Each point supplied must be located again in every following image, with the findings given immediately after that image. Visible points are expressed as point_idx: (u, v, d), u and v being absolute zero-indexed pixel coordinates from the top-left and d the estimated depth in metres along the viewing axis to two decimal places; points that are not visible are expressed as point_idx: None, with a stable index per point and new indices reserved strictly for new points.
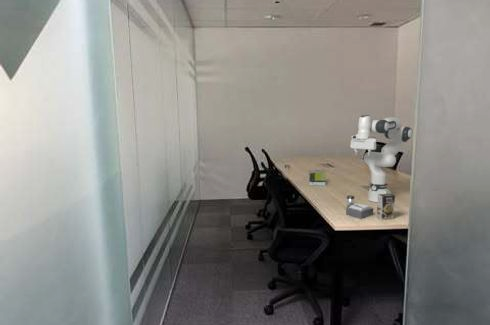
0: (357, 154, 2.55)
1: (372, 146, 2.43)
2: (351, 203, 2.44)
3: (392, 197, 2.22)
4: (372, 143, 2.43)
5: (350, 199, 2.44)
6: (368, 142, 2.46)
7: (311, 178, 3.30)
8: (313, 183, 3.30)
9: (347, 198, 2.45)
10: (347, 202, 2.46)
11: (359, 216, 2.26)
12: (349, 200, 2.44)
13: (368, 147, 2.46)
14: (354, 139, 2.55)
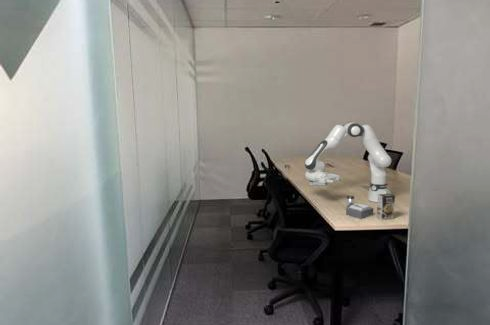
0: (340, 180, 2.56)
1: (322, 182, 2.54)
2: (351, 203, 2.44)
3: (392, 197, 2.22)
4: (320, 182, 2.56)
5: (350, 199, 2.44)
6: None
7: None
8: (313, 183, 3.30)
9: (347, 198, 2.45)
10: (347, 202, 2.46)
11: (359, 216, 2.26)
12: (349, 200, 2.44)
13: None
14: None
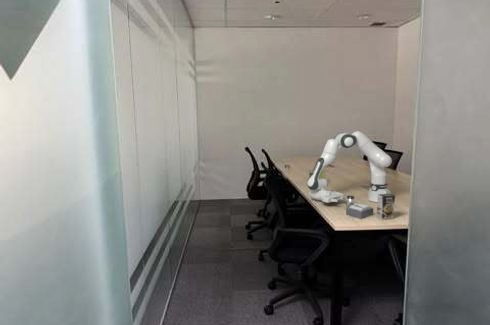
0: (344, 199, 2.55)
1: None
2: (351, 203, 2.44)
3: (392, 197, 2.22)
4: None
5: (350, 199, 2.43)
6: None
7: None
8: None
9: (347, 198, 2.45)
10: (347, 202, 2.45)
11: (359, 216, 2.26)
12: (349, 200, 2.44)
13: None
14: None
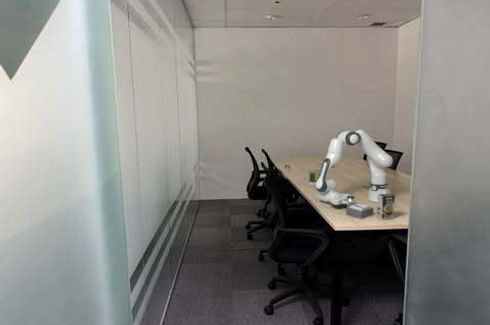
0: None
1: None
2: (351, 203, 2.44)
3: (392, 197, 2.22)
4: None
5: (350, 199, 2.43)
6: None
7: (311, 178, 3.30)
8: (313, 183, 3.30)
9: (347, 198, 2.45)
10: None
11: (359, 216, 2.26)
12: (349, 200, 2.44)
13: None
14: None
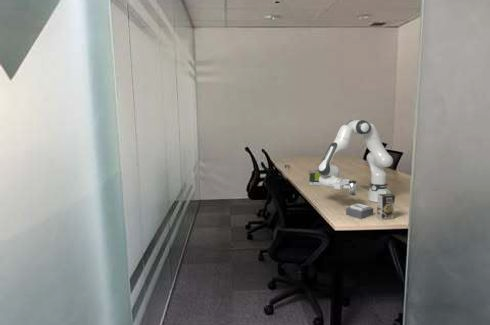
0: None
1: None
2: (353, 188, 2.40)
3: (392, 197, 2.22)
4: (335, 188, 2.44)
5: (352, 184, 2.40)
6: None
7: (311, 178, 3.30)
8: (313, 183, 3.30)
9: (349, 183, 2.41)
10: None
11: (359, 216, 2.26)
12: (351, 185, 2.40)
13: None
14: None
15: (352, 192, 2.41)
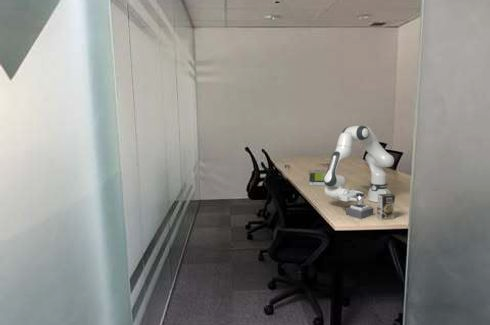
0: (364, 198, 2.34)
1: None
2: (361, 201, 2.30)
3: (392, 197, 2.22)
4: None
5: (360, 197, 2.30)
6: None
7: (311, 178, 3.30)
8: (313, 183, 3.30)
9: (356, 196, 2.31)
10: None
11: (359, 216, 2.26)
12: (359, 198, 2.30)
13: None
14: None
15: (360, 205, 2.31)
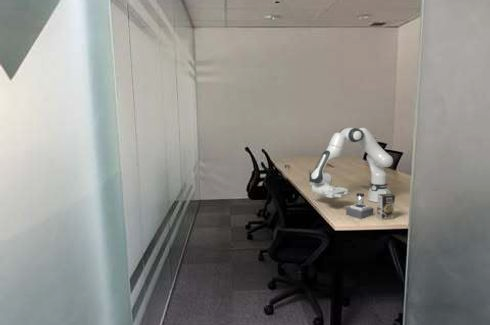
0: (348, 194, 2.44)
1: None
2: (361, 201, 2.30)
3: (392, 197, 2.22)
4: None
5: (360, 197, 2.30)
6: None
7: None
8: (313, 183, 3.30)
9: (357, 196, 2.31)
10: (357, 200, 2.32)
11: (359, 216, 2.26)
12: (359, 198, 2.30)
13: None
14: None
15: (360, 205, 2.31)
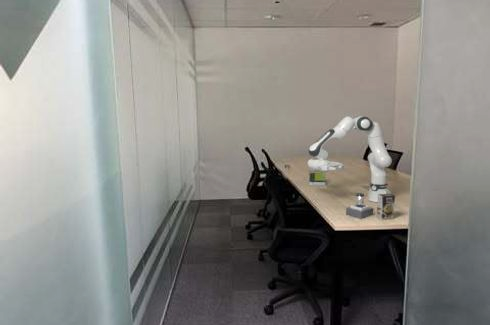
0: (343, 168, 2.52)
1: (324, 170, 2.50)
2: (361, 201, 2.30)
3: (392, 197, 2.22)
4: (322, 170, 2.52)
5: (360, 197, 2.30)
6: None
7: (311, 178, 3.30)
8: (313, 183, 3.30)
9: (357, 196, 2.31)
10: (357, 200, 2.32)
11: (359, 216, 2.26)
12: (359, 198, 2.30)
13: None
14: None
15: (360, 205, 2.31)
